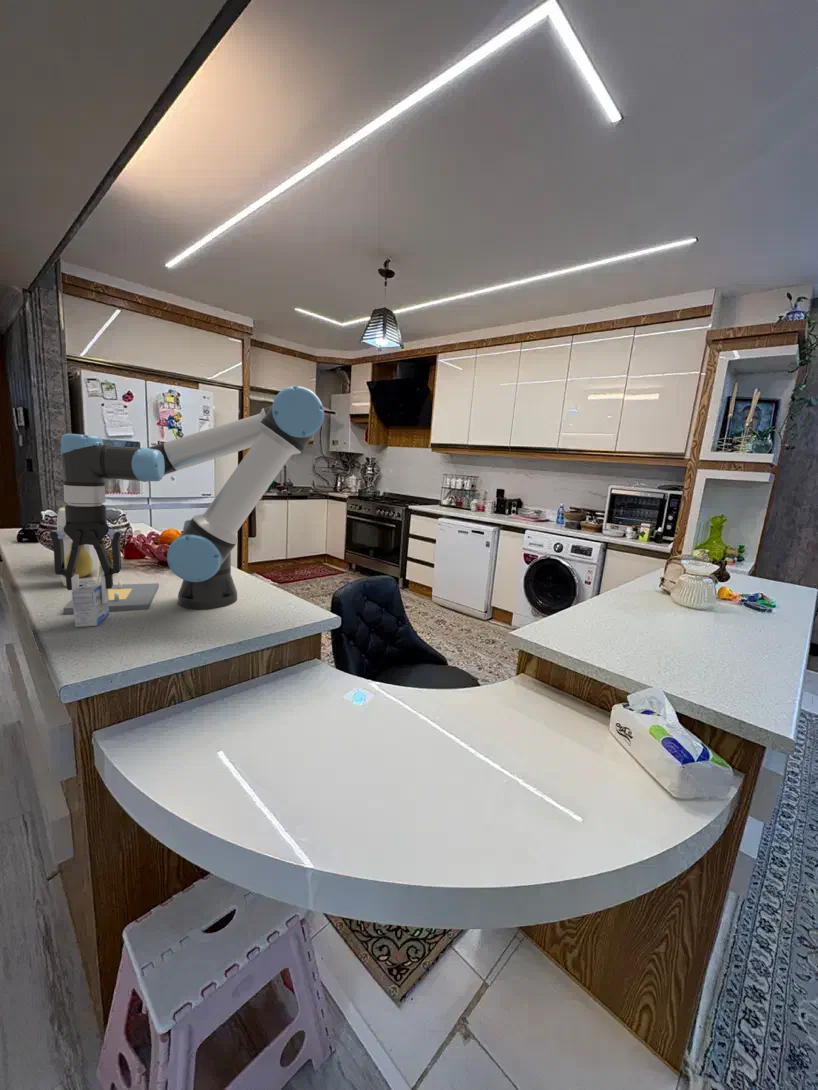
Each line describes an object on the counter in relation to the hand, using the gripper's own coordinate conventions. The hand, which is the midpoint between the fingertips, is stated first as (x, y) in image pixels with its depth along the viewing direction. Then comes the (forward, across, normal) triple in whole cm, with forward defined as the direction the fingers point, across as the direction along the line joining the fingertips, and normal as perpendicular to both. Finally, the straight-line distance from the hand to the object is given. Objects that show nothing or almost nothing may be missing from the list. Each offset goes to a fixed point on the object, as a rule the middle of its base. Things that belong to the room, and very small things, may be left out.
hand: (91, 602), depth 103 cm
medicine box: (+5, 0, 0) cm, 5 cm away
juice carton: (+5, +10, -34) cm, 36 cm away
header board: (+5, -2, -16) cm, 17 cm away
